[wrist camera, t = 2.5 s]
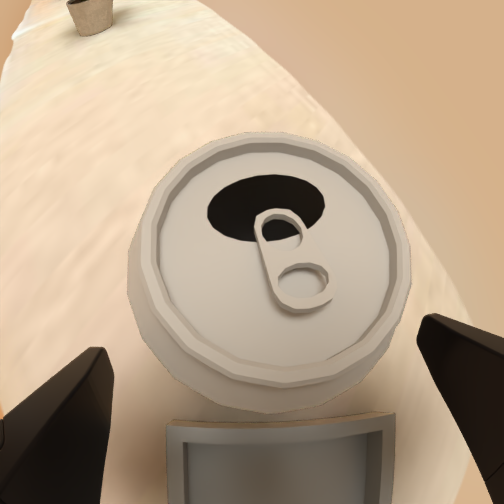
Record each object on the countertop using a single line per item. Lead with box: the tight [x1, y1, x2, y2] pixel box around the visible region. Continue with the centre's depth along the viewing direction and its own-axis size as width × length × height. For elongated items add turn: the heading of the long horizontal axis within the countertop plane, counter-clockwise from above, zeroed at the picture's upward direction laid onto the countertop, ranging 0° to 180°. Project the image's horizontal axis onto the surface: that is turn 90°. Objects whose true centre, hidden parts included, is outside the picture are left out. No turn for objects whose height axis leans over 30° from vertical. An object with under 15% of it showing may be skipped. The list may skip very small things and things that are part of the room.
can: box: [127, 132, 411, 414], centre depth 12 cm, size 8×8×12 cm
